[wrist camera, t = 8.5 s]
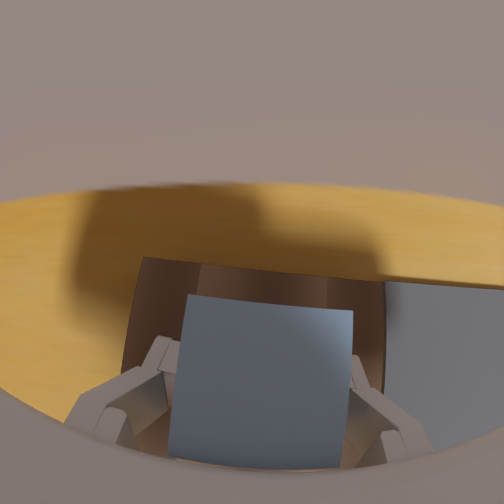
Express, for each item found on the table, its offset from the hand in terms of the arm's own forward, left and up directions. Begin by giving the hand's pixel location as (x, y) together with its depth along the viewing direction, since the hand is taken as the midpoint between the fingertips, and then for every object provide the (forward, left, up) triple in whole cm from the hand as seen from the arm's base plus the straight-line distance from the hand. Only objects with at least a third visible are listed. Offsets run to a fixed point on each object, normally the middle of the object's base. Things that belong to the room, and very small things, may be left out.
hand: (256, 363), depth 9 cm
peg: (0, -1, -5) cm, 5 cm away
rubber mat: (+15, -1, -6) cm, 16 cm away
